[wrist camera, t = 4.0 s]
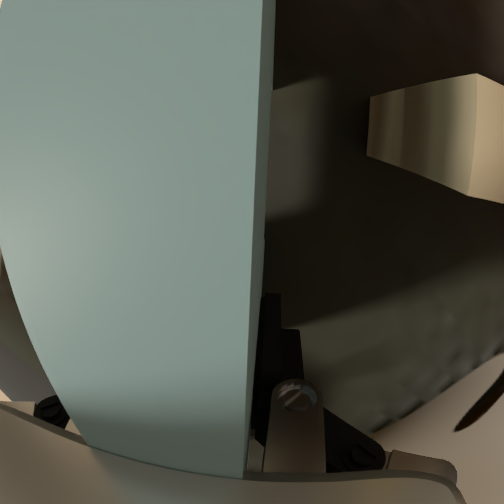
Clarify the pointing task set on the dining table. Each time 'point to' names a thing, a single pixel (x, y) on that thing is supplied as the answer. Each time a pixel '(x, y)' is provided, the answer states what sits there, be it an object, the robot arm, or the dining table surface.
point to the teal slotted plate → (140, 215)
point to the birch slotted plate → (444, 133)
